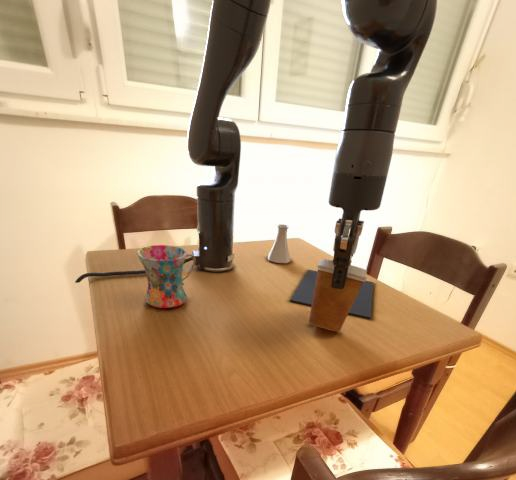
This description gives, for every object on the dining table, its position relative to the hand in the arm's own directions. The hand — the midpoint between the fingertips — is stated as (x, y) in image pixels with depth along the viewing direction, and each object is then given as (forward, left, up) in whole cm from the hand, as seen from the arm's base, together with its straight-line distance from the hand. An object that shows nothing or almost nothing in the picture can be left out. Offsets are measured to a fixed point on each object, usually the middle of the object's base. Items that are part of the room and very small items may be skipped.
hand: (337, 287), depth 53 cm
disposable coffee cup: (+1, +3, -10) cm, 10 cm away
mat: (+12, +20, -11) cm, 26 cm away
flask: (+5, +44, -11) cm, 45 cm away
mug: (-27, +19, -11) cm, 35 cm away
